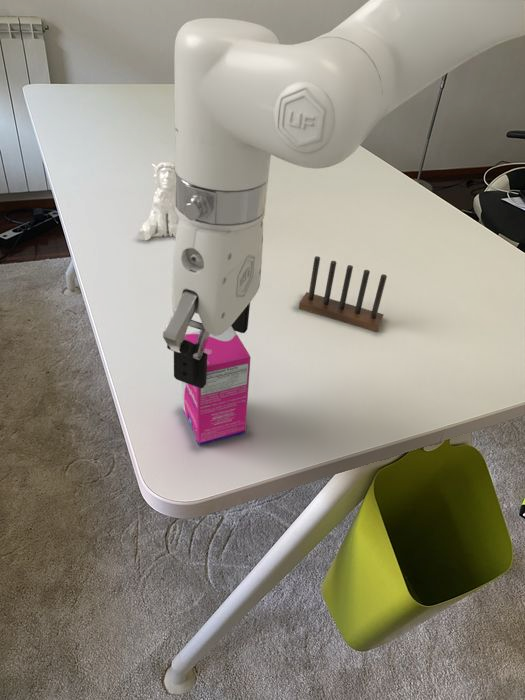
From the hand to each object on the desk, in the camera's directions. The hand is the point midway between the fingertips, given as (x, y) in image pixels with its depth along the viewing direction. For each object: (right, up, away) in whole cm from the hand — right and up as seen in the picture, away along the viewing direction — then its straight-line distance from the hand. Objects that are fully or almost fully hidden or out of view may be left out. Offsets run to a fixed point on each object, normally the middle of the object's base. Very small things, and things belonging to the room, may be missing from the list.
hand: (212, 353), depth 56 cm
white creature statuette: (-12, +21, +41) cm, 48 cm away
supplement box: (-1, -8, +6) cm, 10 cm away
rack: (+17, +6, +25) cm, 31 cm away
